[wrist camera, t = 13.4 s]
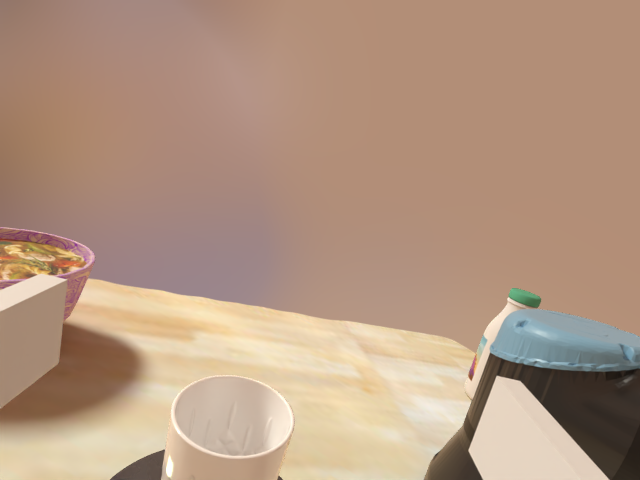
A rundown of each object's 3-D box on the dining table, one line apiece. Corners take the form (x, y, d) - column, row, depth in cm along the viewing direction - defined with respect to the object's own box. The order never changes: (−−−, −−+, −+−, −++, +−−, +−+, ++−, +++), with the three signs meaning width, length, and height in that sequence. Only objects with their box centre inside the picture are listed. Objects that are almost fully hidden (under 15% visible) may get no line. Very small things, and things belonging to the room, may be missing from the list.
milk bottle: (519, 412, 63) (563, 304, 60) (489, 416, 60) (533, 301, 56) (482, 384, 70) (520, 285, 66) (453, 386, 66) (491, 281, 63)
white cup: (283, 550, 26) (318, 428, 25) (176, 632, 21) (212, 481, 19) (225, 470, 32) (250, 365, 30) (126, 518, 26) (150, 391, 24)
